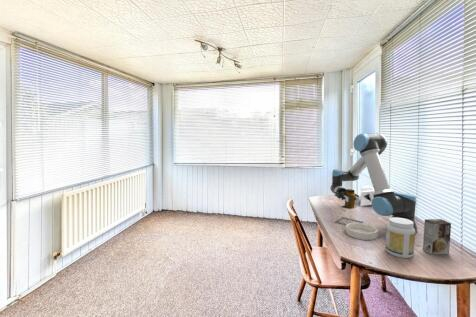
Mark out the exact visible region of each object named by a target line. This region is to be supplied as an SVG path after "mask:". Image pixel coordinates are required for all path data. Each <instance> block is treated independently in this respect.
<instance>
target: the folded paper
mask: <svg viewBox="0 0 476 317" xmlns="http://www.w3.org/2000/svg"><path fill="white" fill-rule="evenodd" d="M374 193H375V191H374V188H373V186H370V185H368V184H366V185H365V186H362V187H360V207H364V206H372V200H373V198H374V197H373V195H374Z"/></svg>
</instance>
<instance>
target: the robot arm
mask: <svg viewBox="0 0 476 317" xmlns="http://www.w3.org/2000/svg"><path fill="white" fill-rule="evenodd" d="M387 146H388V140H387V138H386V137H385V135H383V134H381V133H366V132H365V133H359V134H358V135H356V136H355V138H354V139H353V148H354V150H355V151H357V152H359V154H360V157H359V159H358V160H357V161H356V162H355V163H354V164H353V165H352V166H351V167H350V169H349V170H348V171H343V169H337V168H336V169H332V172H331V175H332V178H331V181H332V182H331V185H330V191H331V192H332V193H333V194H334V196H335V197H336V198H337V199H339V200H340V199H341V201H344V202H345V201H347V202H348V197H347V196H345V194H346V190H347V189H346V188H345V187H343V182H351V181H352V182H354V181H355V182H356V181H358V180H359V179H360V174H361V173H362V172H364V170H365V169H366V168H367V172H368V174H369V178H370V181H371V185H372V187H373V188H374V191H375V193H374V195H373V197H374V198H373V200H372V205H371V208H372V209H373V211H374V212H375V213H376V214H377V215H379V216H381V217H384V216H385V217H389V216H391V218H393V217H398V218H404V219H408V220H411V221H413V223H414V224H413V225H414V226H413V228H414V229H415V234H417V233H418V226H417V223H416V220H415V219H416V218H415V216H416V206H417V198H416V196H415V195H414V194H410V193H405V192H401V191H394V190H393V189H390V185H389V183H388V179H387V176H386V173H385V170H384V167H383V164H382V161H381V158H380V155H382V154H383V153H384V152H385V150H386V148H387ZM354 194H355V202H357V203H359V201H360V196H359V194H357V193H356V192H355V193H354Z"/></svg>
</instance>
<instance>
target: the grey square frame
mask: <svg viewBox="0 0 476 317" xmlns="http://www.w3.org/2000/svg"><path fill="white" fill-rule="evenodd" d="M342 220H347V221H348V220H349V221H354V222H356V223H363V224H364V221H362V220H357V219H352V218H348V217H343V216H342V217H341V218H339V219H337V220H335V221H334V224H339V225H343V226H346V225H347V224H348V223H343V222H341V221H342Z"/></svg>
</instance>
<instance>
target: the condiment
mask: <svg viewBox="0 0 476 317" xmlns="http://www.w3.org/2000/svg"><path fill="white" fill-rule="evenodd" d="M354 193H355V194H356V191H355V189H350V188H347V189H346V194H345V196H347V197H348V202H347V201H345V200H344V205H341V206H339V207H340V208H343V209H347V210H352V209H357V208H358V207H356V206H355V204H356V203H355V202H356V201H355V194H354Z"/></svg>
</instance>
